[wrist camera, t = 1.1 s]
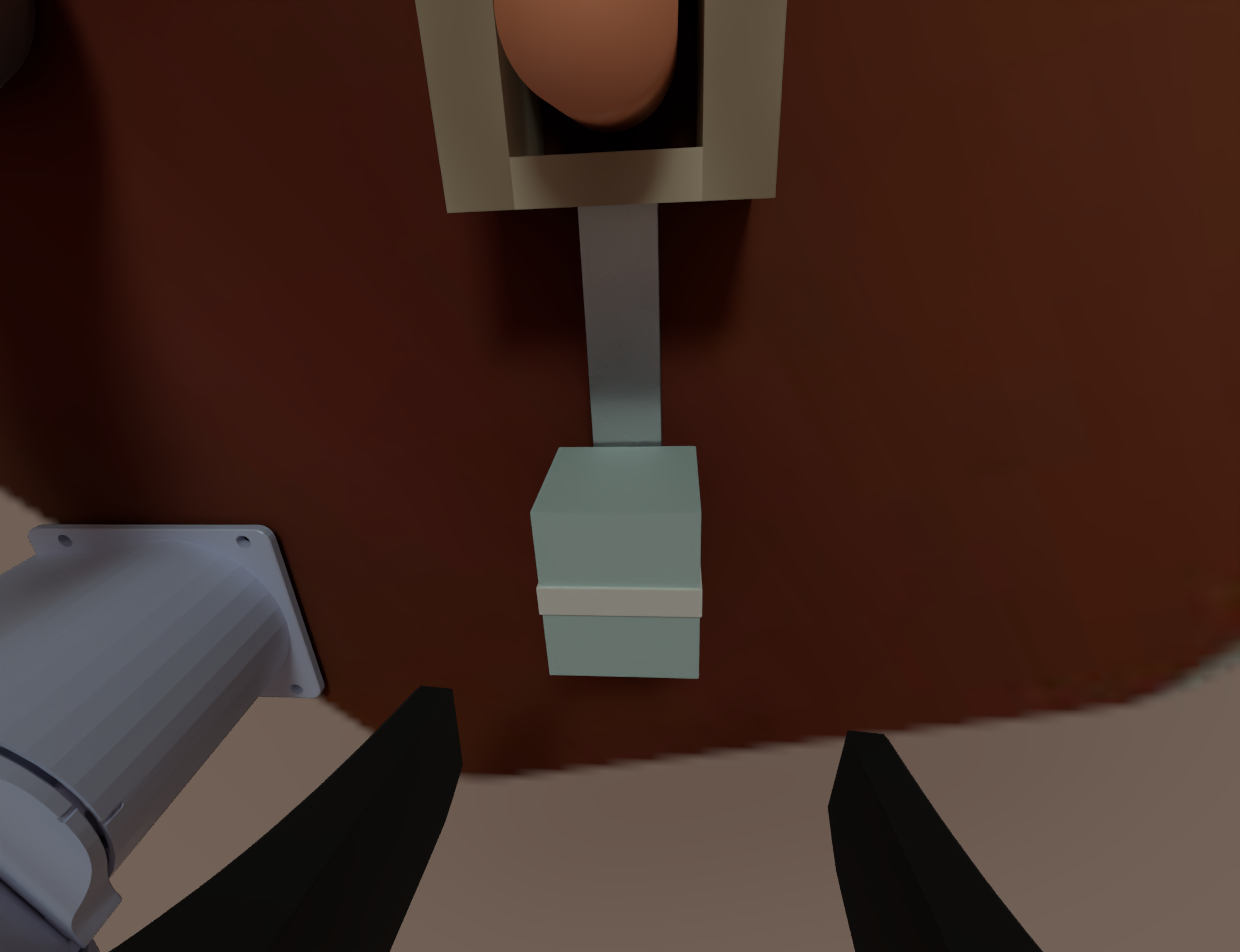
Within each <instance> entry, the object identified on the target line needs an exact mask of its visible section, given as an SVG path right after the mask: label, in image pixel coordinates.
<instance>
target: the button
mask: <svg viewBox="0 0 1240 952" xmlns="http://www.w3.org/2000/svg"><path fill="white" fill-rule="evenodd" d="M494 13H495V19H496V25H497V30H498V33H499V37H500V41H501V43H502V46H503V49H504V51H505V54H506V56H507V58H508V60H509V61H510V63H511V65H512V67H513V68H514V70H515V71H516V73H517V74H518V76H519V77H520V78H521V80H522V81H523V82H524V83H525V84H526V85H527V87H529V88H530V89H531V90H532V91H533V92H534V93H535V94H536V95H538V96H539V97H540V98H542V99H543V100H545V101H546V102H548V103H549V104H551V105H552V106H554V107H555V108H557V109H558V110H559V111H561V112H562V113H564V114H565V115H567V116H568V117H570V118H571V119H573V120H574V121H576V122H577V123H578V124H580V125H582V126H584V127H586V128H588V129H591V130H594V131H599V132H619V131H624V130H627V129H630V128H632V127H634V126H637V125H638V124H640V123H641V122H643V121H645V120H646V119H647V118H648V117H649V116H650V115H652V114H653V112H654V111H655V110H656V109H657V108H658V107H659V105H660V104H661V103H662V101H663V100H664V98H665V96H666V94H667V92H668V90H669V88H670V85H671V83H672V80H673V76H674V73H675V68H676V62H677V37H678V0H494Z"/></svg>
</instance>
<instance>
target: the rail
mask: <svg viewBox="0 0 1240 952" xmlns="http://www.w3.org/2000/svg"><path fill="white" fill-rule="evenodd" d="M578 219H579V234H580V249H581V264H582V279H583V294H584V309H585V324H586V339H587V354H588V368H589V383H590V398H591V413H592V428H593V443H594V447H657V446H662V390H661V323H660V256H659V203H649V204H627V205H606V206H584V207H578Z"/></svg>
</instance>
